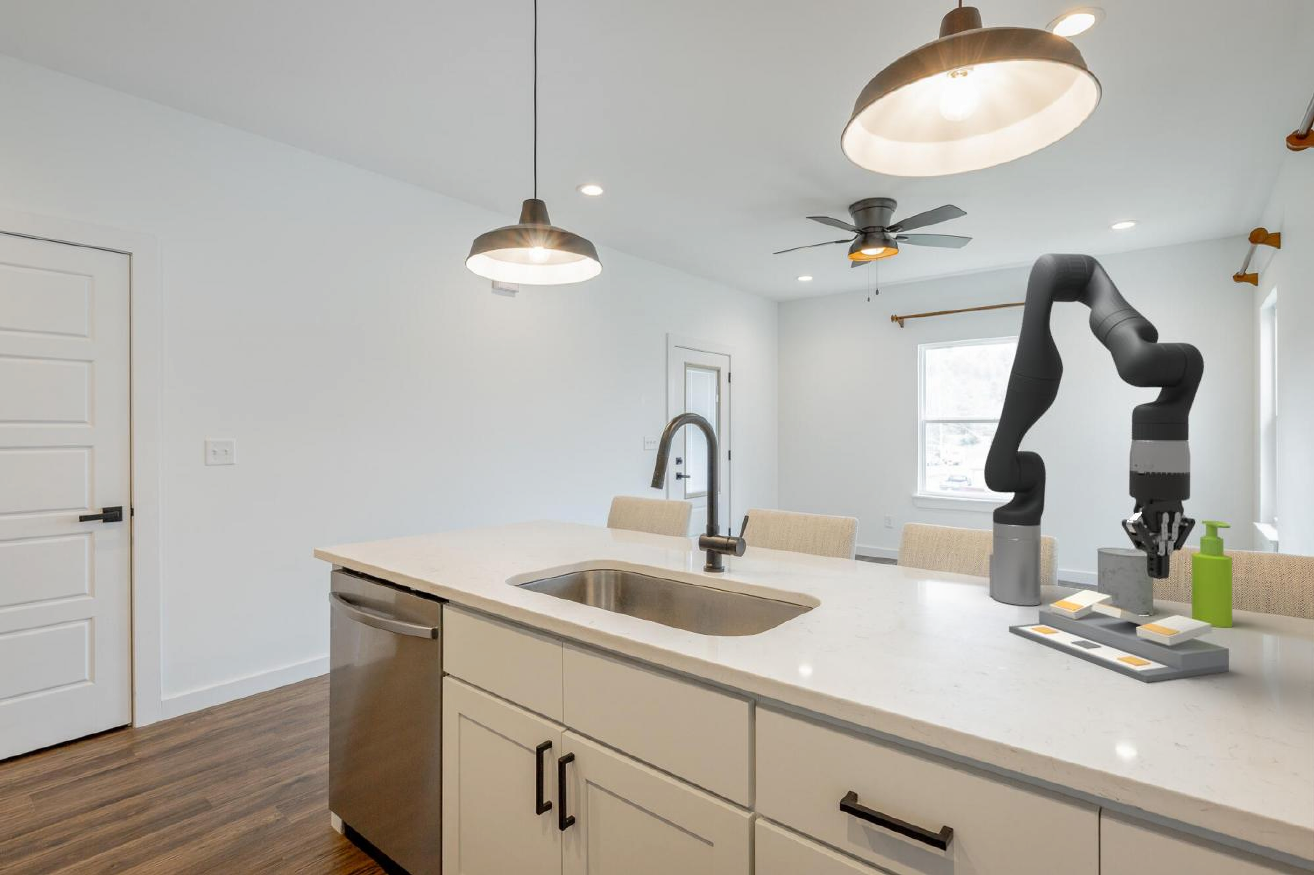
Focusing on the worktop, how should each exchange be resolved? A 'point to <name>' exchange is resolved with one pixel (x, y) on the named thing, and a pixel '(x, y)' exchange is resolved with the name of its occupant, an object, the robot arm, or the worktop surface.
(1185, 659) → the switch unit
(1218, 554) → the soap dispenser
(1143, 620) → the rocker middle
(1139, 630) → the rocker right
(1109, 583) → the grey concrete cylinder
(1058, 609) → the plate
